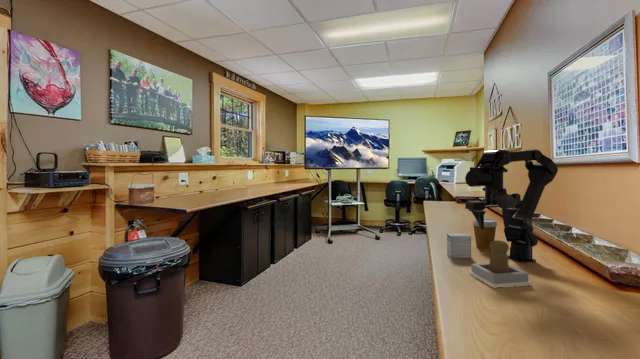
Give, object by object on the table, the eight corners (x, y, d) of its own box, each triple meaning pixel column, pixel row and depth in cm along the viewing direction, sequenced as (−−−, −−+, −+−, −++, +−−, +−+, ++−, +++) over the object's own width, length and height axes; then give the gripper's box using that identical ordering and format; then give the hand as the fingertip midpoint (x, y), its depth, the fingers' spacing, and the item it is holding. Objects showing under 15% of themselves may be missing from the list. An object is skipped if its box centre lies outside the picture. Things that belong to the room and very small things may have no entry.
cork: (512, 275, 95) (512, 240, 95) (507, 280, 91) (507, 244, 90) (491, 270, 99) (491, 237, 99) (485, 276, 95) (485, 241, 95)
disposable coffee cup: (502, 248, 128) (502, 220, 127) (489, 252, 123) (489, 223, 123) (480, 243, 136) (480, 217, 136) (467, 247, 131) (467, 220, 131)
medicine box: (467, 254, 121) (467, 233, 120) (471, 258, 116) (471, 236, 116) (446, 255, 122) (446, 233, 121) (450, 258, 117) (450, 236, 117)
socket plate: (502, 271, 102) (502, 261, 101) (531, 285, 90) (531, 273, 90) (469, 273, 100) (469, 263, 100) (493, 288, 89) (493, 276, 88)
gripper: (483, 187, 99) (484, 235, 99) (536, 185, 100) (536, 232, 101) (464, 185, 110) (464, 228, 110) (512, 183, 111) (512, 225, 112)
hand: (494, 228), depth 108 cm, fingers open, 9 cm apart
